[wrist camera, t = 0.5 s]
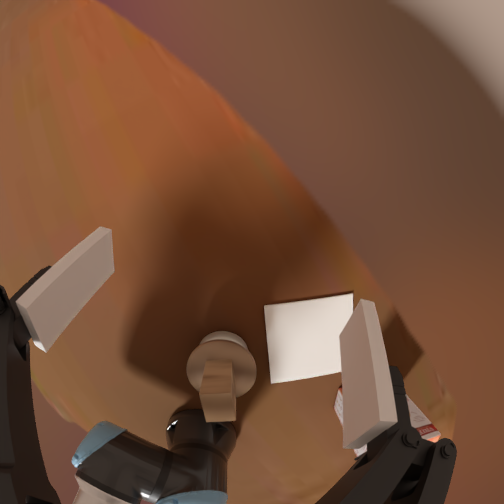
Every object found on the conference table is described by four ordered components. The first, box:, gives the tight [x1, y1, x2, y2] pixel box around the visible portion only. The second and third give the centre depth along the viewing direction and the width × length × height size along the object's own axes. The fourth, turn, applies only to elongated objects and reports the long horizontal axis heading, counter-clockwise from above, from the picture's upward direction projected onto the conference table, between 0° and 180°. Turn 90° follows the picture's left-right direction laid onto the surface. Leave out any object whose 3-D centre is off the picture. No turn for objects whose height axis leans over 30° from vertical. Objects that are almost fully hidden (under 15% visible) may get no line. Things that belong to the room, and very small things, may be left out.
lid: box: [186, 339, 257, 422], centre depth 37 cm, size 11×11×10 cm
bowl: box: [199, 331, 248, 350], centre depth 45 cm, size 10×10×6 cm
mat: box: [264, 293, 353, 383], centre depth 49 cm, size 16×16×1 cm
